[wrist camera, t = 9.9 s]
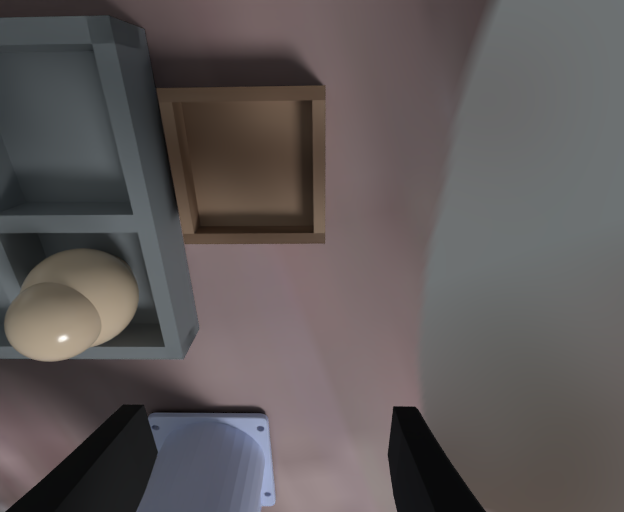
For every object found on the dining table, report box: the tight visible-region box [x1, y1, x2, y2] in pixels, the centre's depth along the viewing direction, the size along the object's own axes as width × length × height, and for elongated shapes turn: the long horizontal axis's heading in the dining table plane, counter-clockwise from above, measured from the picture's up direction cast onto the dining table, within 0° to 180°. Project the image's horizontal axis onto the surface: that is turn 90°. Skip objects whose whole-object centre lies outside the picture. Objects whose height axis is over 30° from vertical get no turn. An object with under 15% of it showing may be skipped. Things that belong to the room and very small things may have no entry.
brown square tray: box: [156, 85, 325, 244], centre depth 15 cm, size 6×6×2 cm
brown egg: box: [4, 248, 139, 362], centre depth 15 cm, size 5×5×6 cm
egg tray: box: [0, 15, 199, 359], centre depth 16 cm, size 15×15×3 cm
